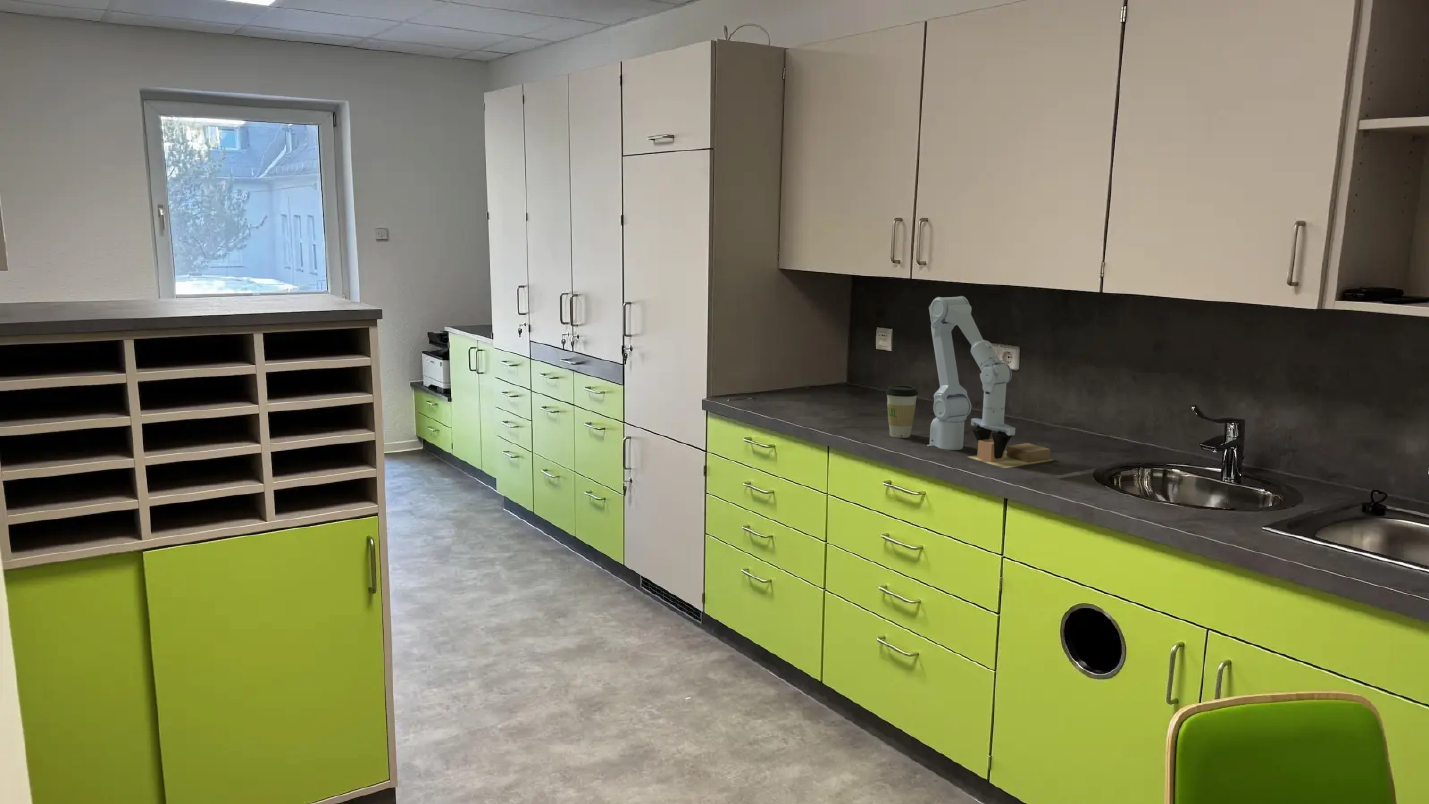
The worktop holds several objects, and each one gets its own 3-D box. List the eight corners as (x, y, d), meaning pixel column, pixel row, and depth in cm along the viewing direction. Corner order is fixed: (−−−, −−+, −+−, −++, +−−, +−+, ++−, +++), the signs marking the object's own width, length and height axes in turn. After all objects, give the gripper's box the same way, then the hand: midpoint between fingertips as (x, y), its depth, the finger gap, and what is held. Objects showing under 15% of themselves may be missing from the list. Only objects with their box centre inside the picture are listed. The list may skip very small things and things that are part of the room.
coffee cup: (890, 430, 300) (892, 383, 297) (920, 434, 295) (923, 386, 292) (879, 436, 291) (881, 388, 288) (909, 440, 286) (912, 391, 284)
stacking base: (966, 459, 264) (967, 446, 263) (1015, 451, 273) (1016, 438, 272) (1004, 471, 252) (1005, 457, 251) (1054, 462, 261) (1055, 449, 260)
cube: (977, 458, 263) (978, 440, 262) (990, 456, 265) (991, 438, 264) (990, 462, 258) (991, 444, 257) (1003, 460, 261) (1005, 442, 260)
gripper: (963, 404, 263) (961, 451, 266) (1002, 413, 251) (999, 463, 253) (982, 401, 266) (979, 448, 269) (1022, 411, 254) (1018, 460, 257)
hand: (990, 455), depth 261 cm, fingers closed on cube, 5 cm apart
